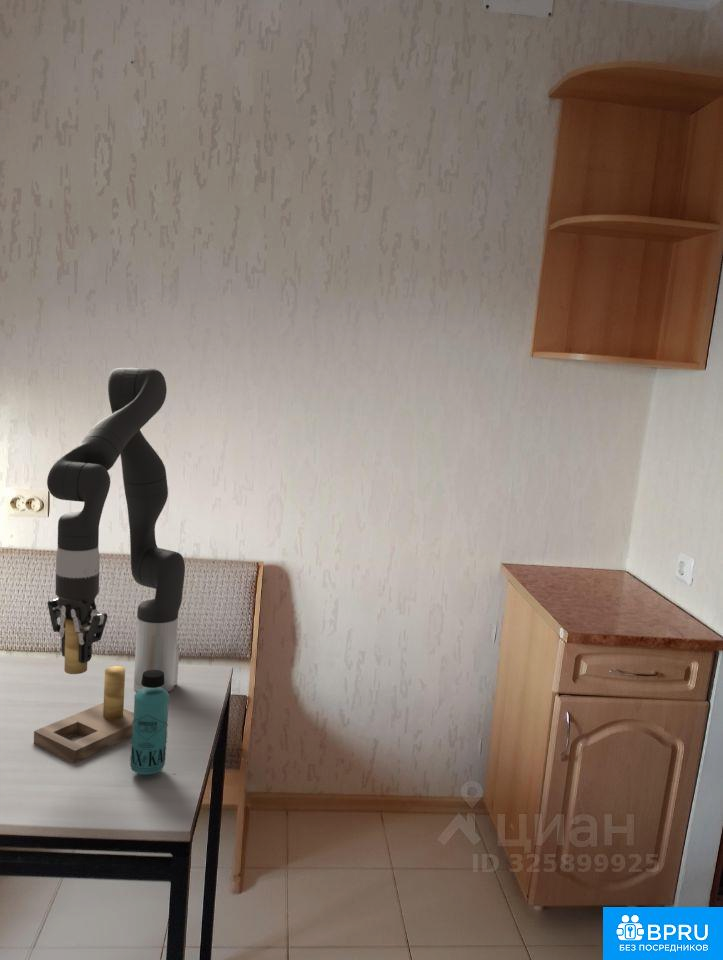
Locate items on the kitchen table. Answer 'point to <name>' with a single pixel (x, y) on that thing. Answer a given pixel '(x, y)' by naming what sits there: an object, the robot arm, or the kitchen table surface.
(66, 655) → the pin
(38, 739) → the pin plate
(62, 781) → the kitchen table surface
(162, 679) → the beverage bottle
